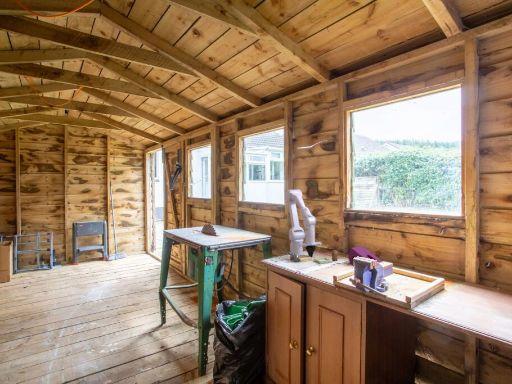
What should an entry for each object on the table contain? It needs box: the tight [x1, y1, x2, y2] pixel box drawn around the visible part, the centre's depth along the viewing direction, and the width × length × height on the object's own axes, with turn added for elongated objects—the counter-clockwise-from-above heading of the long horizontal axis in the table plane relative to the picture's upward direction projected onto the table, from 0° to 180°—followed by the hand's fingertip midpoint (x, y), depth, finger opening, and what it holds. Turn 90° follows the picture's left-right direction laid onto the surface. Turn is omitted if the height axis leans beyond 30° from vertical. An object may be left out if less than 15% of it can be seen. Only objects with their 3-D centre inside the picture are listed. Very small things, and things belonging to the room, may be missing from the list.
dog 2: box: [293, 255, 300, 263], centre depth 179 cm, size 3×3×4 cm
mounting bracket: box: [347, 245, 383, 265], centre depth 168 cm, size 10×8×18 cm
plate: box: [298, 254, 313, 263], centre depth 183 cm, size 8×8×2 cm
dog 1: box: [289, 253, 295, 262], centre depth 184 cm, size 3×3×4 cm
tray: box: [313, 256, 334, 265], centre depth 178 cm, size 8×8×2 cm
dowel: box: [331, 249, 339, 262], centre depth 180 cm, size 3×3×6 cm
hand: (310, 257), depth 185 cm, fingers closed
